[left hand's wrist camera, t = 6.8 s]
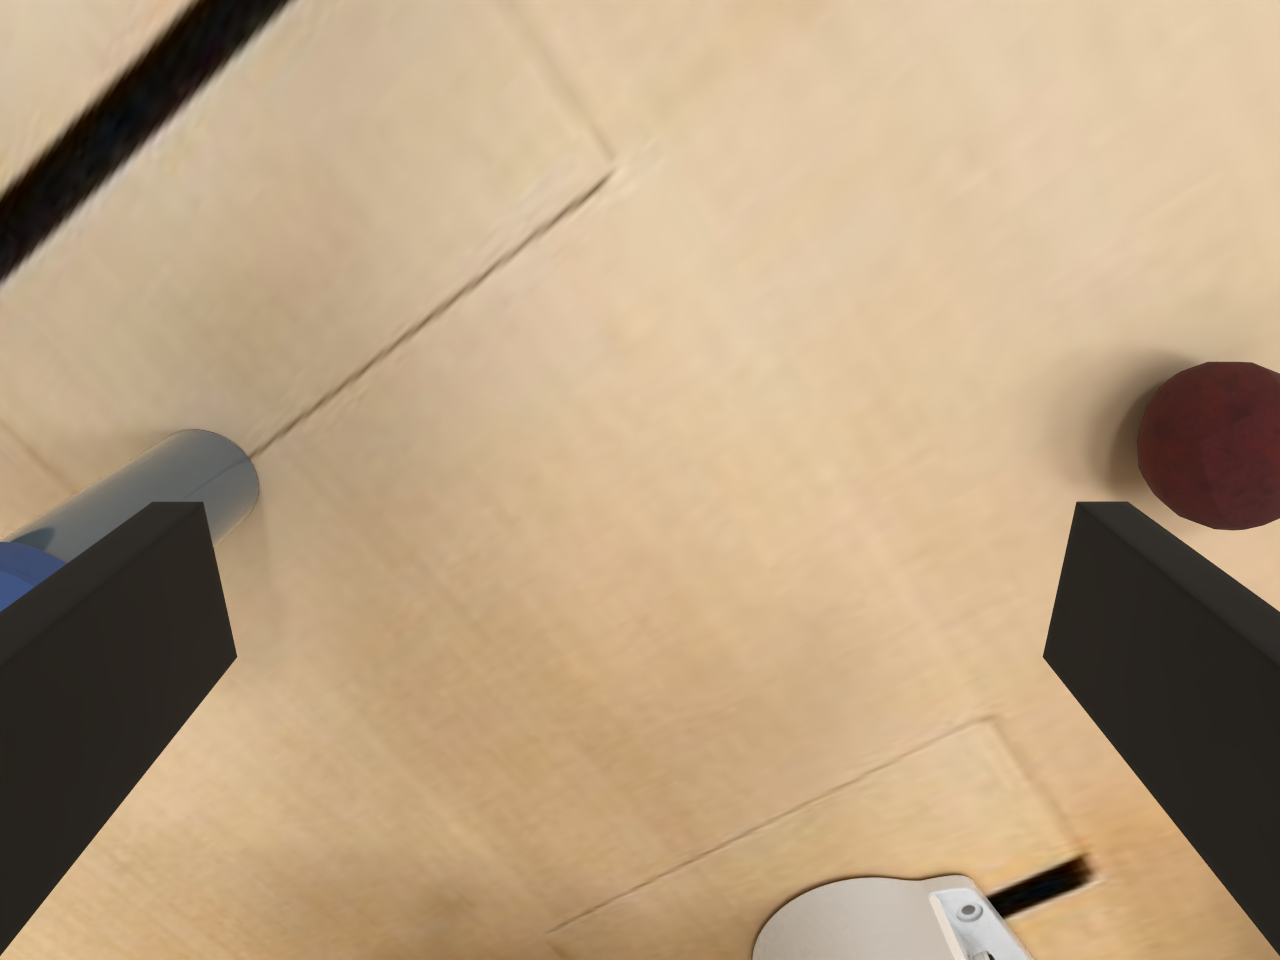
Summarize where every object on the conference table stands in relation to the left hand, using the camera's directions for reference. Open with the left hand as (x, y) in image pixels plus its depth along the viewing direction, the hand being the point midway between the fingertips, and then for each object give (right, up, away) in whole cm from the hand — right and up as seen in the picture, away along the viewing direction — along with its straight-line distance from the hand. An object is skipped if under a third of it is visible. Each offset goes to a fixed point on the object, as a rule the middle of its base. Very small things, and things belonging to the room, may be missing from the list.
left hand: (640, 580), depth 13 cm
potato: (+27, +5, +28) cm, 39 cm away
